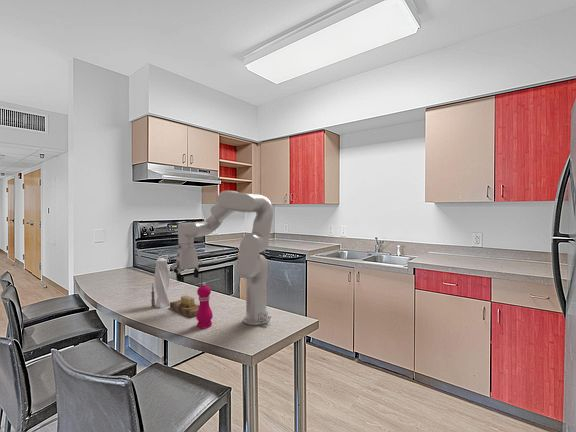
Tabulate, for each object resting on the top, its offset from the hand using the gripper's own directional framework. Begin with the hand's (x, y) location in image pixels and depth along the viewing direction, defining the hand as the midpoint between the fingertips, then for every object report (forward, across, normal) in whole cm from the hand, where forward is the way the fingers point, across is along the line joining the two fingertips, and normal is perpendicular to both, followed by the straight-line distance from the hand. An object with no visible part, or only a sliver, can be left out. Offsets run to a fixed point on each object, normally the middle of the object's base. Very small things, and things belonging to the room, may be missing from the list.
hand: (187, 279), depth 159 cm
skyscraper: (+17, -5, +19) cm, 26 cm away
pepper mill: (+18, -5, -23) cm, 29 cm away
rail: (+17, 0, +1) cm, 17 cm away
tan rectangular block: (+16, 0, +1) cm, 16 cm away
